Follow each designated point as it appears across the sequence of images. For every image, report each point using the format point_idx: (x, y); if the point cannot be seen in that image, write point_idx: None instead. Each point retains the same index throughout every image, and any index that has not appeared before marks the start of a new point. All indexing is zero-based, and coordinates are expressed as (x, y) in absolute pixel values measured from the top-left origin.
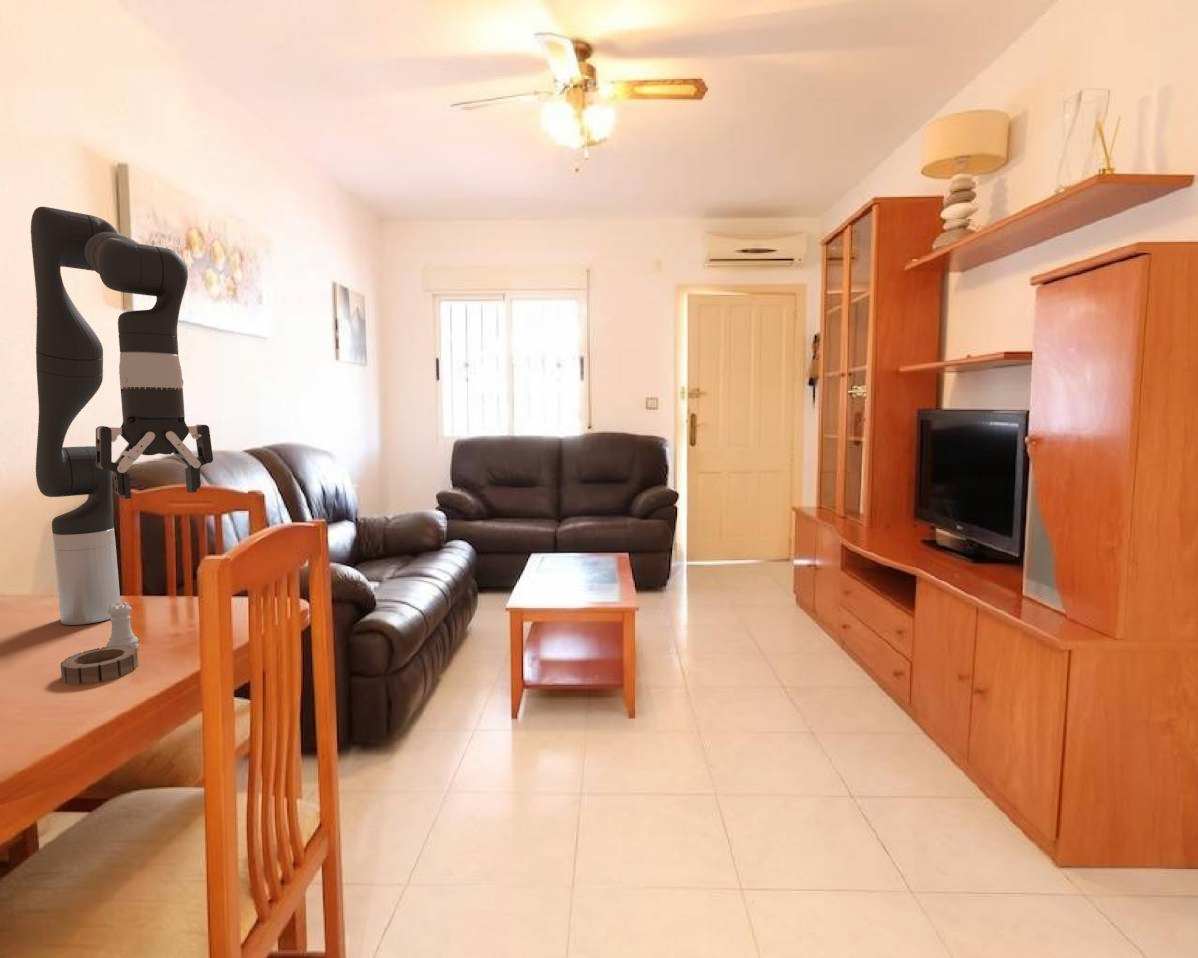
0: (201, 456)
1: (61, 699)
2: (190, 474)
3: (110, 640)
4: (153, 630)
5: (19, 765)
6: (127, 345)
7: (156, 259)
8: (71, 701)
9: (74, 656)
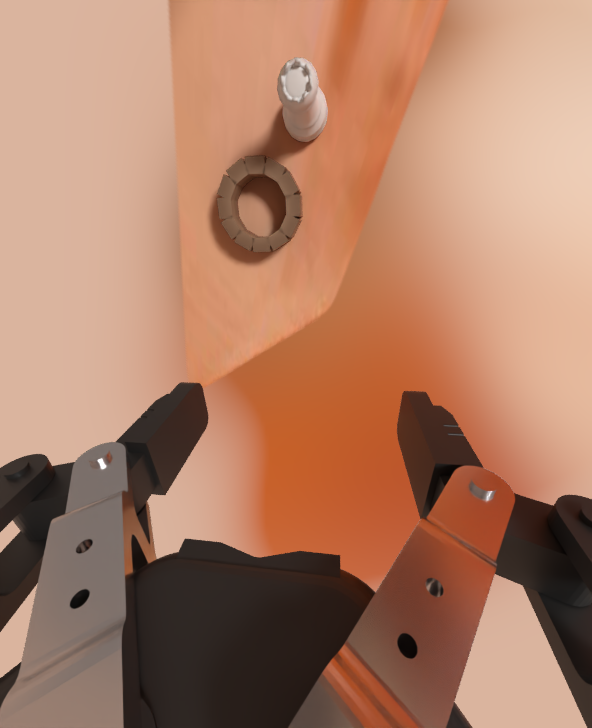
0: (551, 576)
1: (220, 272)
2: (413, 490)
3: (286, 112)
4: None
5: None
6: None
7: None
8: (227, 287)
9: (233, 174)
